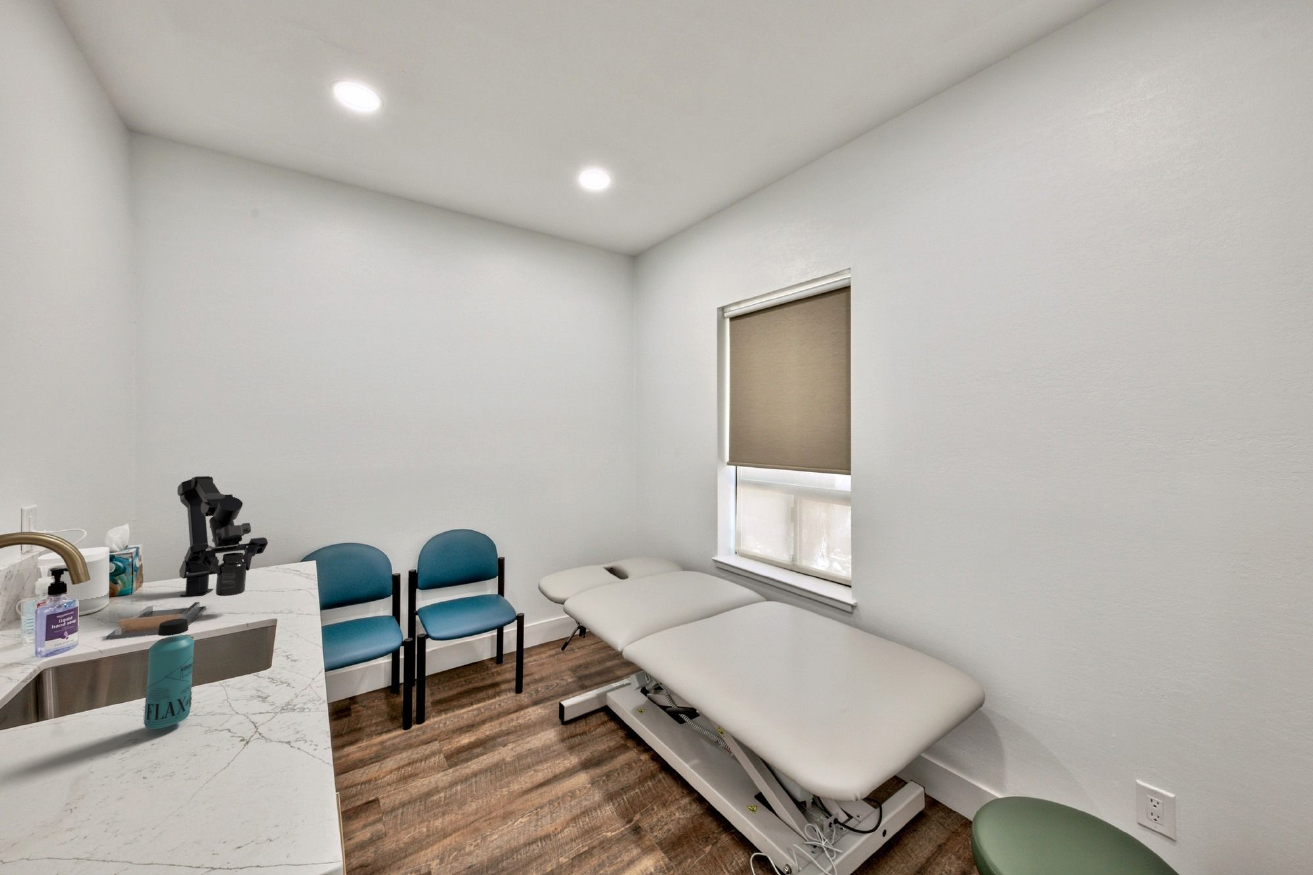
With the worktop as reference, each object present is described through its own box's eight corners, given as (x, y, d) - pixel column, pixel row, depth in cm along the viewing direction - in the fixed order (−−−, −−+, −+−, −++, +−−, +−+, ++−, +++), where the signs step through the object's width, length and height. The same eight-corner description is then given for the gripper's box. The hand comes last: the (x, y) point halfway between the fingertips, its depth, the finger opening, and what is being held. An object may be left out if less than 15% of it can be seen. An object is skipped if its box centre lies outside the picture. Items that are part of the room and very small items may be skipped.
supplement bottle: (250, 591, 154) (253, 552, 155) (229, 597, 147) (233, 557, 148) (230, 589, 155) (234, 550, 155) (208, 595, 148) (212, 555, 148)
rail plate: (140, 615, 148) (140, 601, 148) (205, 609, 155) (206, 596, 155) (106, 639, 130) (107, 624, 130) (182, 631, 137) (183, 617, 137)
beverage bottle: (135, 741, 89) (142, 629, 89) (151, 722, 95) (157, 617, 95) (183, 732, 92) (189, 624, 92) (196, 714, 98) (202, 613, 98)
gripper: (191, 517, 146) (200, 561, 140) (267, 512, 162) (279, 551, 155) (181, 540, 150) (190, 584, 144) (256, 533, 166) (267, 572, 160)
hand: (234, 572), depth 151 cm, fingers closed on supplement bottle, 7 cm apart
